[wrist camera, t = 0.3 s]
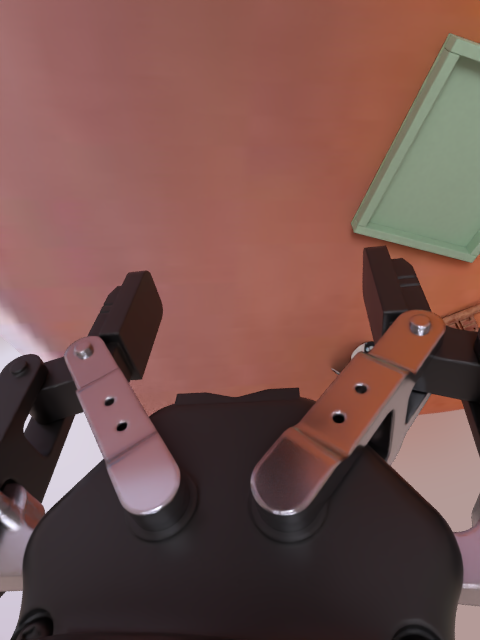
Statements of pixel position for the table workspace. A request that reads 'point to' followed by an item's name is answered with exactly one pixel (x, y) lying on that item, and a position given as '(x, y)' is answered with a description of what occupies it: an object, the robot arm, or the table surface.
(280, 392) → the robot arm
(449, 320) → the key
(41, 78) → the table surface
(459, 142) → the tray
